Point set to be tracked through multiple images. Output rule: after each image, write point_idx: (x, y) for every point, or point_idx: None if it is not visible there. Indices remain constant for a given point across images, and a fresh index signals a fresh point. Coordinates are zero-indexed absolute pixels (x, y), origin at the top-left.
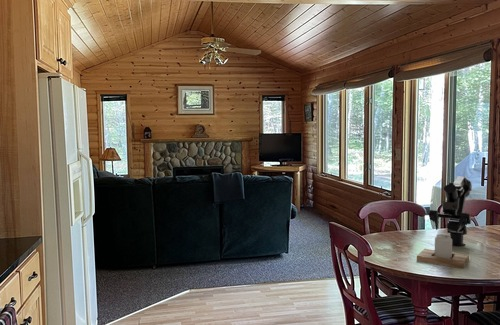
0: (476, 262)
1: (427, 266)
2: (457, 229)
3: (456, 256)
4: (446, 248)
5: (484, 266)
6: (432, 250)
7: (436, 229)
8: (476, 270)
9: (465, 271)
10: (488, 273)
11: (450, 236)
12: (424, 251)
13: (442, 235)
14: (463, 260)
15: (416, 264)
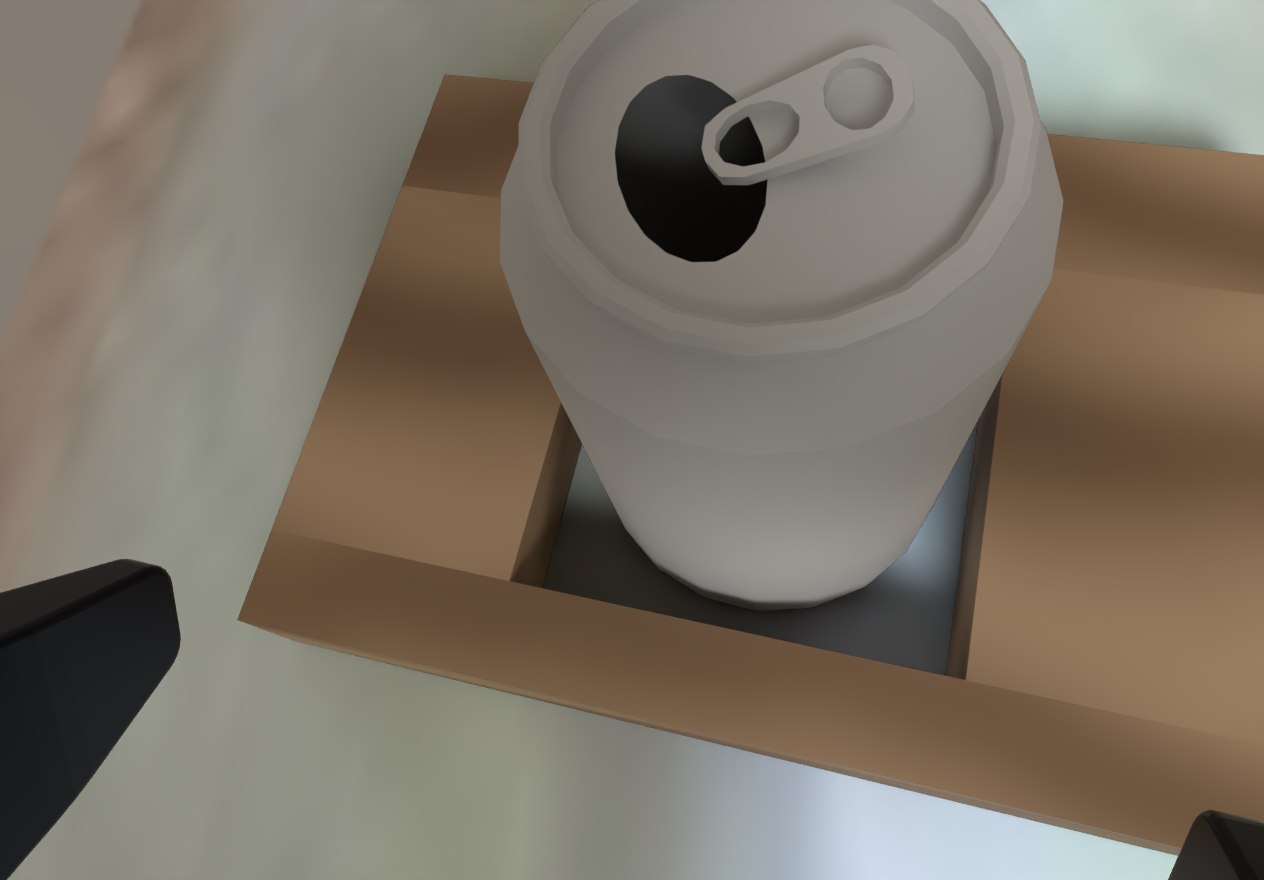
0: (192, 546)
1: (998, 21)
2: (45, 597)
3: (507, 411)
4: (692, 161)
5: (133, 361)
6: (1047, 741)
7: (1214, 836)
8: (305, 129)
9: (462, 31)
10: (184, 73)
11: (528, 116)
12: (1224, 562)
13: (812, 324)
14: (418, 203)
15: (1191, 42)
